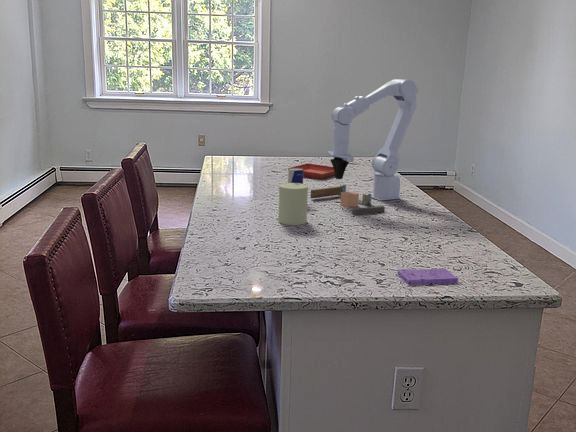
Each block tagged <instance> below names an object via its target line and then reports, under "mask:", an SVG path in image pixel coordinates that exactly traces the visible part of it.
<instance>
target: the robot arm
mask: <svg viewBox="0 0 576 432" xmlns="http://www.w3.org/2000/svg"><path fill="white" fill-rule="evenodd" d="M418 91H419V89H418V87H417V84H416V83H415V81H414V80H413V79H403V78H402V79H401V78H394V79H391V80H390V81H387V82H386V83H385V84H383V85H382V86H380V87H379V88H377V89H375V90H374V91H372V92H370V93H369V94H367V95H366V96H362V95H360V96H359V95H356V96H354V97H353V98H354V99H352V100H351V101H348V102H344V103H343V105H342V106H338V107H336V108H334V109H333V111H332V114H331V115H330V117H331V120H332V121H333V130H332V133H333V134H332V150H327V157H332V158H331V159H330V163H331V165H332V167H333V168H334V172H335V175H334V177H335V179H336V180H343V178H344V175H345V171H346V169H347V167H348V165H349V164H350V163H353V162H354V157H355V156H353V155H351V154H350V153H349V151H350V147H349V146H350V145H349V144H350V128H351V127H350V126H351V123H352V122H353V120H354V119H356V118H357V117H359V116H360V115H362V114H364V113H366V112H368V111H369V109H370V106H371V105H373V104H375V103H377V102H380V101H381V100H382V99H385V98H386V97H389V96H392V97H393V98H394V99H395V100H396V102H397V104H398V107H399V108H398V111H397V112H396V116H395V118H394V121H393V123H392V126H391V128H390V130H389V134H388V135H387V138H386V140H385V143H384V146H383V147H382V148H381V149H379V150H378V152H377V153H376V155H375V156H374V157H373V158H372V161H371V167H372V169H373V170H374V173H373V190H372V195H371V199H375V200H378V201H380V202H381V201H388V200H400V199H401V197H400V191H401V190H400V189H401V188H400V187H401V180H400V176H399V175H398V174H397V171H398V169H399V161H400V155H399V149H400V147H401V144H402V143H403V141H404V140H403V139H404V137H405V136H406V135H405V134H406V132H407V130H408V128H409V125H410V122H411V121H412V118H413V116H414V113H415V110H416V109H417V94H418Z"/></svg>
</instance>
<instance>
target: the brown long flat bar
mask: <svg viewBox="0 0 576 432" xmlns="http://www.w3.org/2000/svg"><path fill="white" fill-rule="evenodd" d="M339 195H340V185H339V186H332V187H331V186H330V187H323V188H316V189H315V188H314V189H311V190H310V198H311V199H319V198H327V197H333V196H339Z"/></svg>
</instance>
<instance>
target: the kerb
mask: <svg viewBox="0 0 576 432" xmlns="http://www.w3.org/2000/svg"><path fill="white" fill-rule="evenodd" d="M385 207H386V206H384V205H375V206H365V207H357V208H352V215H354V216H360V215H368V214H376V213H377V214H378V213H385V212H386V211H385Z"/></svg>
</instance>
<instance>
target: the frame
mask: <svg viewBox="0 0 576 432" xmlns="http://www.w3.org/2000/svg"><path fill="white" fill-rule="evenodd" d="M339 187H340V195H338V196H340V197H341V192H347V185H346V184H340V185H339ZM371 195H373V193H362V199H359V198H358V205H361V206H362V205H364V206H365V207H372V197H371Z"/></svg>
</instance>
